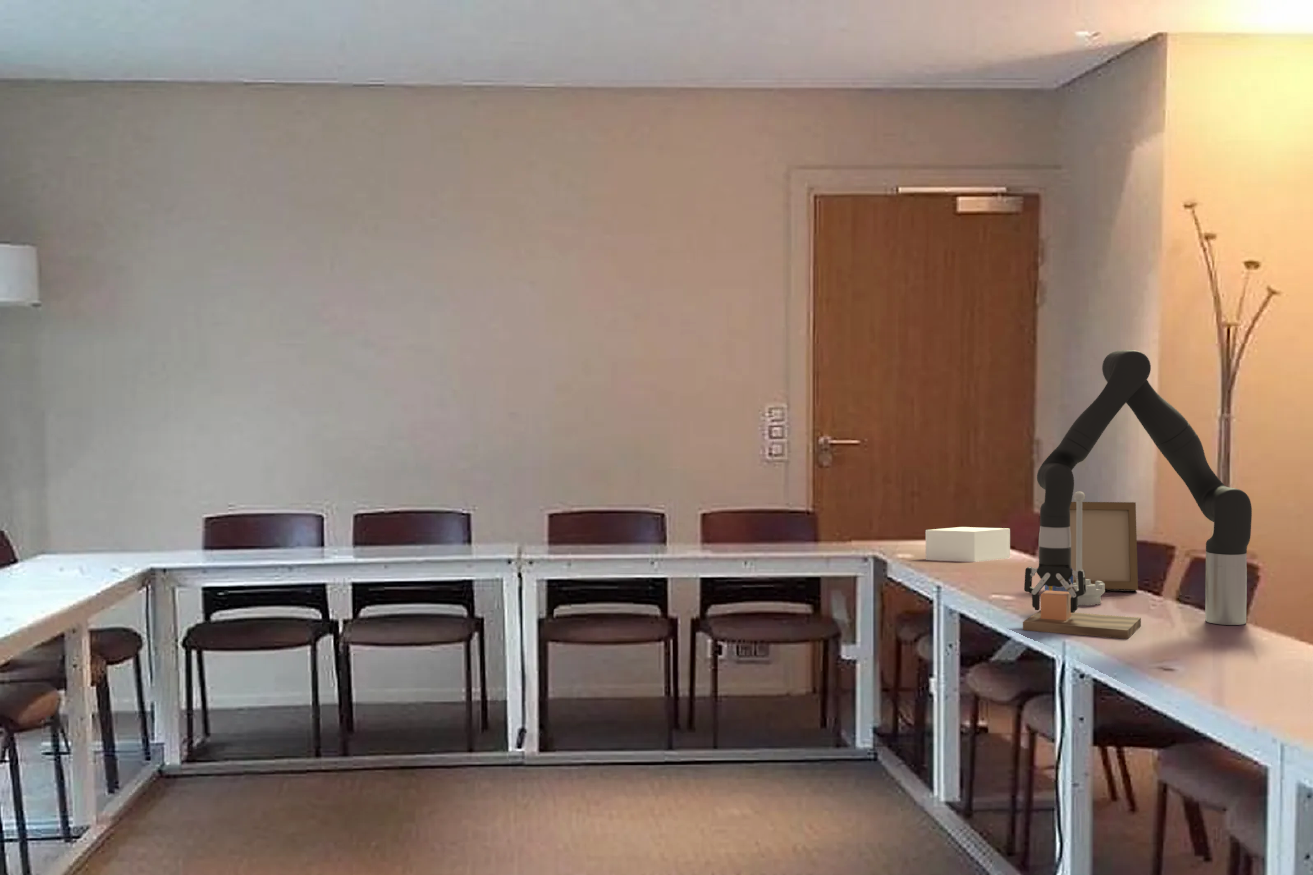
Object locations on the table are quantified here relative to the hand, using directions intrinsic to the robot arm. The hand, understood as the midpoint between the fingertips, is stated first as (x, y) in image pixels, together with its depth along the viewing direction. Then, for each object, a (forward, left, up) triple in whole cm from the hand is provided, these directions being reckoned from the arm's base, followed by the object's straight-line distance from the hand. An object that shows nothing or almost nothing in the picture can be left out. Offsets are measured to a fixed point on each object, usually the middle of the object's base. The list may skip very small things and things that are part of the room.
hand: (1054, 611), depth 316 cm
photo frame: (-64, -3, -4) cm, 64 cm away
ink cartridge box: (-18, -3, -4) cm, 19 cm away
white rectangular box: (-109, -53, -4) cm, 121 cm away
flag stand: (-38, -2, -4) cm, 38 cm away
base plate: (0, +6, -4) cm, 7 cm away
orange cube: (0, 0, -2) cm, 2 cm away
